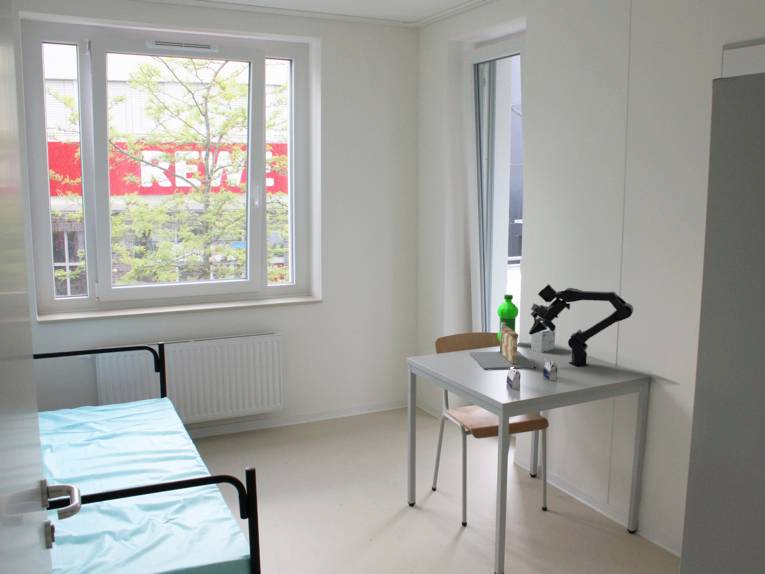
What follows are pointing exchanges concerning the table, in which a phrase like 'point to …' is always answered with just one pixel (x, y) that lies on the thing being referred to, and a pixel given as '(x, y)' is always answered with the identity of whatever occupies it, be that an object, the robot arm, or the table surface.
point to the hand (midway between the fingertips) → (529, 333)
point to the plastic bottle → (507, 313)
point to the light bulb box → (543, 340)
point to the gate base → (500, 358)
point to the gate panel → (509, 344)
